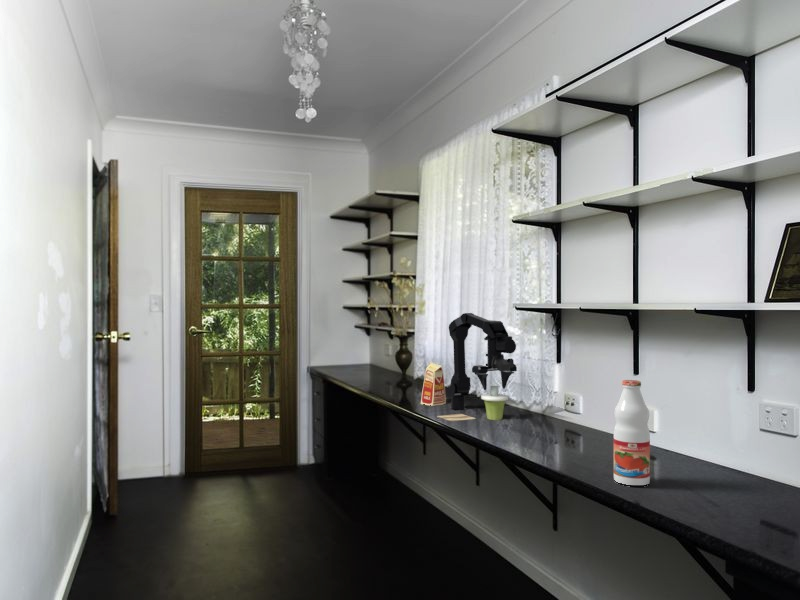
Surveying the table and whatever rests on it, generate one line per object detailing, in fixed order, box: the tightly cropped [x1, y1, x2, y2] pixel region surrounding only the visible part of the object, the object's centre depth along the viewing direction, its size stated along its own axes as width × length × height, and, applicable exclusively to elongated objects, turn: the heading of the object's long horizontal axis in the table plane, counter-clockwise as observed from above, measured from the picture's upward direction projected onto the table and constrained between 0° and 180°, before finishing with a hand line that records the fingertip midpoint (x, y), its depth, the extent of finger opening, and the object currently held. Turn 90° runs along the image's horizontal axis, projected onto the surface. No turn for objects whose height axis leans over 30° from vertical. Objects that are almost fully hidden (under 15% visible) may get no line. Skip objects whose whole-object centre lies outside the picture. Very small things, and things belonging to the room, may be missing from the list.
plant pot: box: [483, 400, 507, 421], centre depth 261 cm, size 9×9×9 cm
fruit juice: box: [613, 379, 651, 485], centre depth 174 cm, size 9×9×28 cm
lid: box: [480, 385, 509, 402], centre depth 261 cm, size 11×11×5 cm
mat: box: [436, 413, 477, 422], centre depth 264 cm, size 12×12×1 cm
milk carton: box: [420, 361, 447, 407], centre depth 299 cm, size 9×9×20 cm
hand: (494, 389), depth 261 cm, fingers open, 9 cm apart
